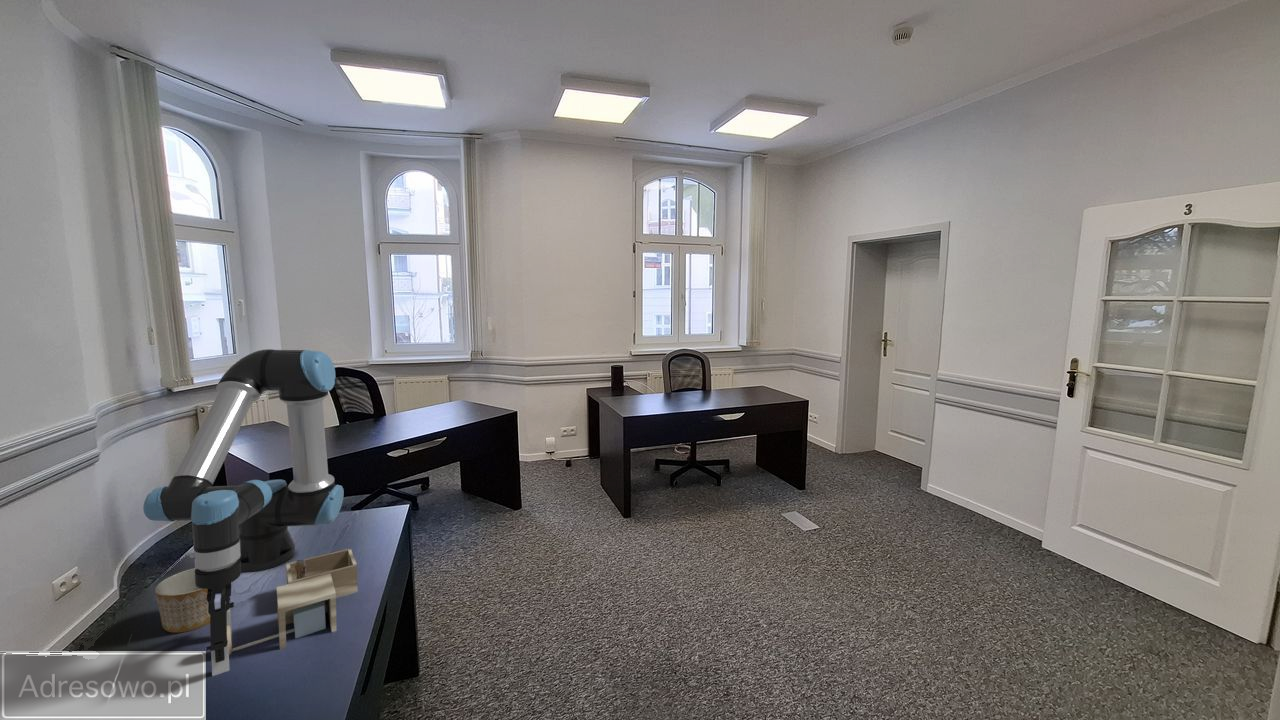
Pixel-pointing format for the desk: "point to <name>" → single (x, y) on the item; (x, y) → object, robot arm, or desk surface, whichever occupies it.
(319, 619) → the tan maraca
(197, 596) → the planter
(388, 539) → the desk surface
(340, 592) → the open rectangular beige box
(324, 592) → the small wooden stool
